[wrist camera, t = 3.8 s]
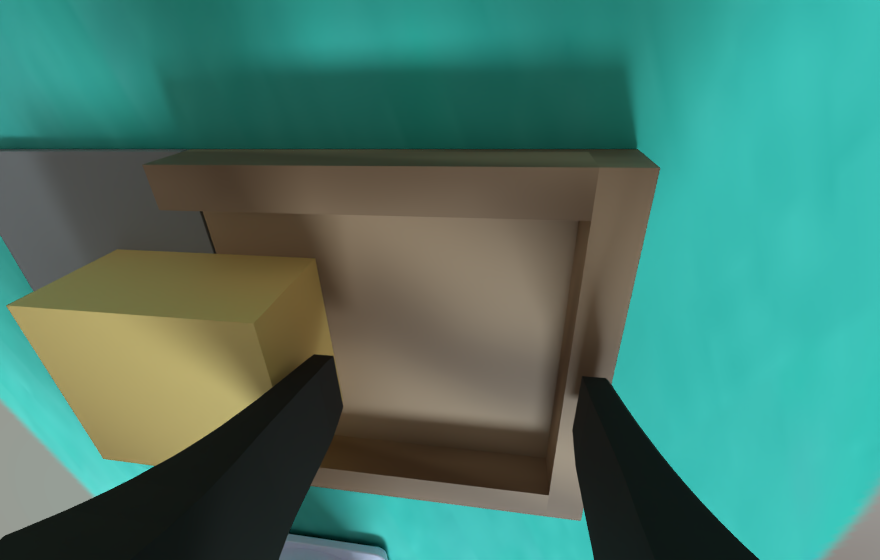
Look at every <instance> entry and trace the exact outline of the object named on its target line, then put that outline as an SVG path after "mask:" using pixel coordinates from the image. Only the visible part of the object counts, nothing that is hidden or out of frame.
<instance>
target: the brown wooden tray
mask: <svg viewBox="0 0 880 560" xmlns="http://www.w3.org/2000/svg"><path fill="white" fill-rule="evenodd" d="M142 166H143V168H144V171H145V174H146V176H147V179H148V182H149V184H150V187H151V189H152V192H153V195H154V197H155V200H156V203H157V205H158V208H159V210H170V211H203V214H204V217H205V220H206V223H207V226H208V229H209V232H210V236H211V239H212V242H213V245H214V248H215V251H216V254H232V255H254V256H276V257H298V258H315V260H316V265H317V270H318V275H319V280H320V285H321V291H322V296H323V301H324V306H325V311H326V316H327V321H328V327H329V332H330V337H331V342H332V347H333V352H334V358H335V363H336V368H337V373H338V378H339V383H340V388H341V394H342V399H343V410H342V413H341V416H340V419H339V422H338V425H337V428H336V431H335V434H334V437H333V440H332V442H331V444H330V446H329V448H328V450H327V452H326V454H325V457H324V459H323V461H322V463H321V465H320V467H319V469H318V471H317V473H316V475H315V477H314V479H313V482H312V484H311V486H316V487H323V488H331V489H339V490H346V491H354V492H362V493H370V494H377V495H385V496H393V497H401V498H408V499H416V500H424V501H432V502H439V503H447V504H455V505H462V506H470V507H478V508H486V509H493V510H501V511H509V512H517V513H524V514H532V515H540V516H548V517H555V518H563V519H571V520H578V521H581V517H582V512H583V508H584V507H583V502H582V497H581V492H580V487H579V482H578V477H577V472H576V466H575V456H574V445H573V432H572V429H573V423H574V418H575V412H576V407H577V401H578V396H579V390H580V385H581V379H582V376H587V377H599V378H606V379H607V380H608V381H609V382H610V383H612V379H613V375H614V370H615V366H616V361H617V357H618V352H619V348H620V343H621V339H622V335H623V330H624V326H625V321H626V317H627V312H628V308H629V304H630V299H631V295H632V290H633V286H634V281H635V277H636V272H637V268H638V264H639V259H640V255H641V250H642V246H643V241H644V237H645V233H646V228H647V224H648V219H649V215H650V210H651V206H652V201H653V197H654V193H655V188H656V184H657V179H658V175H659V170H660V167H658V166H657V165H656V164H655V163H654V162H652V161H651V160H650V159H649V158H648V157H646V156H645V155H644V154H643V153H642V152H640V151H639V150H638V149H189V150H186V151H183V152H180V153H177V154H174V155H171V156H168V157H164V158H161V159H158V160H155V161H152V162H149V163H146V164H143V165H142Z"/></svg>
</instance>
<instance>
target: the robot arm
mask: <svg viewBox="0 0 880 560" xmlns="http://www.w3.org/2000/svg"><path fill="white" fill-rule="evenodd" d="M342 410H343V402H342V397H341V392H340V387H339V382H338V377H337V372H336V366H335V361H334V356H329V355H317V354H314V355H312V356H311V357H310V358H308V359H307V360H306V361H304V362H303V363H302V364H301V365H299V366H298V367H297V368H296V369H294V370H293V371H292V372H291V373H290V374H288V375H287V376H286V377H285V378H283V379H282V380H281V381H280V382H278V383H277V384H276V385H275V386H273V387H272V388H271V389H270V390H268V391H267V392H266V393H264V394H263V395H262V396H261V397H259V398H258V399H257V400H256V401H254V402H253V403H252V404H250V405H249V406H247V407H246V408H245V409H243V410H242V411H241V412H239V413H238V414H236V415H235V416H234V417H232V418H231V419H230V420H228V421H227V422H225V423H224V424H223V425H221V426H220V427H218V428H217V429H215V430H214V431H212V432H211V433H209V434H208V435H206V436H205V437H203V438H202V439H200V440H199V441H197V442H195V443H194V444H192V445H191V446H189V447H187V448H186V449H184V450H183V451H181V452H179V453H177V454H176V455H174V456H172V457H171V458H169V459H167V460H165V461H163V462H162V463H160V464H158V465H156V466H154V467H152V468H151V469H149V470H147V471H145V472H143V473H142V474H140V475H138V476H136V477H134V478H132V479H131V480H129V481H127V482H125V483H123V484H121V485H119V486H117V487H115V488H113V489H111V490H109V491H107V492H104V493H102V494H100V495H98V496H96V497H94V498H92V499H90V500H88V501H85V502H83V503H81V504H79V505H77V506H74V507H72V508H70V509H68V510H66V511H63V512H61V513H58V514H56V515H54V516H51V517H49V518H46V519H44V520H42V521H40V522H37V523H35V524H32V525H30V526H27V527H25V528H23V529H20V530H18V531H15V532H13V533H10V534H8V535H5V536H4V537H3V538H2V539H1V540H0V560H388V558H387V554H386V552H385V551H384V550H383V549H382V548H379V547H375V546H368V545H361V544H355V543H348V542H341V541H334V540H328V539H321V538H314V537H308V536H301V535H294V534H288V533H289V531H290V528H291V526H292V524H293V522H294V519H295V517H296V515H297V512H298V510H299V508H300V506H301V504H302V502H303V500H304V498H305V496H306V494H307V492H308V490H309V488H310V486H311V484H312V482H313V479H314V477H315V475H316V473H317V471H318V469H319V467H320V465H321V463H322V461H323V459H324V457H325V454H326V452H327V450H328V448H329V446H330V444H331V442H332V440H333V437H334V434H335V431H336V428H337V425H338V422H339V419H340V416H341V413H342ZM572 432H573V445H574V456H575V466H576V472H577V477H578V482H579V487H580V492H581V497H582V502H583V507H584V512H585V516H586V521H587V526H588V531H589V536H590V541H591V546H592V551H593V556H594V560H759V559H758V558H757V557H756V556H755V555H754V554H753V553H752V552H751V551H750V550H749V549H747V548H746V547H745V546H744V545H743V544H742V543H741V542H740V541H739V540H738V539H737V538H736V537H735V536H734V535H733V534H732V533H731V532H730V531H729V530H728V529H727V528H726V527H725V526H724V525H723V524H722V523H721V522H720V521H719V520H718V519H717V518H716V517H715V516H714V515H713V514H712V513H711V512H710V510H709V509H708V508H707V507H706V506H705V505H704V504H703V503H702V502H701V501H700V500H699V499H698V498H697V496H696V495H695V494H694V493H693V492H692V491H691V490H690V489H689V487H688V486H687V485H686V484H685V483H684V482H683V481H682V479H681V478H680V477H679V476H678V475H677V473H676V472H675V471H674V470H673V469H672V467H671V466H670V465H669V464H668V463H667V461H666V460H665V459H664V458H663V456H662V455H661V454H660V453H659V451H658V450H657V449H656V447H655V446H654V445H653V443H652V442H651V441H650V439H649V438H648V437H647V435H646V434H645V433H644V431H643V430H642V429H641V427H640V426H639V425H638V423H637V422H636V421H635V419H634V418H633V416H632V415H631V413H630V412H629V410H628V409H627V408H626V406H625V405H624V403H623V402H622V400H621V399H620V397H619V396H618V394H617V393H616V391H615V390H614V388H613V386H612V385H611V383H610V382H609V381H608V380H607V379H606V378H599V377H587V376H582V379H581V385H580V390H579V396H578V401H577V407H576V412H575V418H574V423H573V429H572Z"/></svg>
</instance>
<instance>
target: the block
mask: <svg viewBox="0 0 880 560" xmlns="http://www.w3.org/2000/svg"><path fill="white" fill-rule="evenodd" d="M6 306H7V308H8V309H9V311H10V312H11V314H12V316H13V317H14V319H15V320H16V322H17V323H18V325H19V327H20V328H21V330H22V331H23V333H24V334H25V336H26V338H27V339H28V341H29V342H30V344H31V345H32V347H33V349H34V350H35V352H36V353H37V355H38V356H39V358H40V360H41V361H42V363H43V364H44V366H45V368H46V369H47V371H48V372H49V374H50V375H51V377H52V379H53V380H54V382H55V383H56V385H57V386H58V388H59V390H60V391H61V393H62V394H63V396H64V397H65V399H66V401H67V402H68V404H69V405H70V407H71V408H72V410H73V412H74V413H75V415H76V416H77V418H78V419H79V421H80V423H81V424H82V426H83V427H84V429H85V431H86V432H87V434H88V435H89V437H90V438H91V440H92V442H93V443H94V445H95V446H96V448H97V449H98V451H99V453H100V454H101V456H102V457H103V459H108V460H116V461H123V462H131V463H138V464H146V465H153V466H156V465H158V464H160V463H162V462H163V461H165V460H167V459H169V458H171V457H172V456H174V455H176V454H177V453H179V452H181V451H183V450H184V449H186V448H187V447H189V446H191V445H192V444H194V443H195V442H197V441H199V440H200V439H202V438H203V437H205V436H206V435H208V434H209V433H211V432H212V431H214V430H215V429H217V428H218V427H220V426H221V425H223V424H224V423H225V422H227V421H228V420H230V419H231V418H232V417H234V416H235V415H236V414H238V413H239V412H241V411H242V410H243V409H245V408H246V407H247V406H249V405H250V404H252V403H253V402H254V401H256V400H257V399H258V398H259V397H261V396H262V395H263V394H264V393H266V392H267V391H268V390H270V389H271V388H272V387H273V386H275V385H276V384H277V383H278V382H280V381H281V380H282V379H283V378H285V377H286V376H287V375H288V374H290V373H291V372H292V371H293V370H294V369H296V368H297V367H298V366H299V365H301V364H302V363H303V362H304V361H306V360H307V359H308V358H310V357H311V356H312V355H314V354H317V355H329V356H334V352H333V347H332V342H331V337H330V332H329V327H328V321H327V316H326V311H325V306H324V301H323V296H322V291H321V285H320V280H319V275H318V270H317V265H316V260H315V258H298V257H276V256H254V255H232V254H210V253H188V252H166V251H143V250H121V249H117V250H115V251H113V252H111V253H109V254H107V255H105V256H103V257H101V258H99V259H97V260H95V261H93V262H91V263H89V264H87V265H85V266H83V267H81V268H79V269H77V270H75V271H73V272H72V273H70V274H68V275H66V276H64V277H62V278H60V279H58V280H56V281H54V282H52V283H50V284H48V285H46V286H44V287H42V288H40V289H38V290H36V291H34V292H32V293H30V294H28V295H26V296H24V297H22V298H20V299H18V300H16V301H14V302H12V303H10V304H8V305H6ZM334 361H335V358H334ZM335 366H336V363H335ZM336 372H337V368H336ZM337 377H338V373H337ZM338 382H339V378H338ZM339 387H340V383H339ZM340 392H341V388H340ZM341 397H342V394H341ZM342 402H343V399H342Z"/></svg>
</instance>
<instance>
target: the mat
mask: <svg viewBox="0 0 880 560" xmlns="http://www.w3.org/2000/svg"><path fill="white" fill-rule="evenodd" d="M186 150H187V149H0V235H1V237H2V239H3V240H4V242H5V244H6V246H7V247H8V249H9V251H10V252H11V254H12V256H13V257H14V259H15V261H16V262H17V264H18V266H19V267H20V269H21V271H22V273H23V274H24V276H25V278H26V279H27V281H28V283H29V284H30V286H31V288H32V289H33V291H36V290H38V289H40V288H42V287H44V286H46V285H48V284H50V283H52V282H54V281H56V280H58V279H60V278H62V277H64V276H66V275H68V274H70V273H72V272H73V271H75V270H77V269H79V268H81V267H83V266H85V265H87V264H89V263H91V262H93V261H95V260H97V259H99V258H101V257H103V256H105V255H107V254H109V253H111V252H113V251H115V250H117V249H121V250H143V251H166V252H188V253H210V254H216V251H215V248H214V245H213V242H212V239H211V236H210V232H209V229H208V226H207V223H206V220H205V217H204V214H203V211H170V210H159V208H158V205H157V203H156V200H155V197H154V195H153V192H152V189H151V187H150V184H149V182H148V179H147V176H146V174H145V171H144V168H143V166H142V165H143V164H146V163H149V162H152V161H155V160H158V159H161V158H164V157H168V156H171V155H174V154H177V153H180V152H183V151H186Z"/></svg>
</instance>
